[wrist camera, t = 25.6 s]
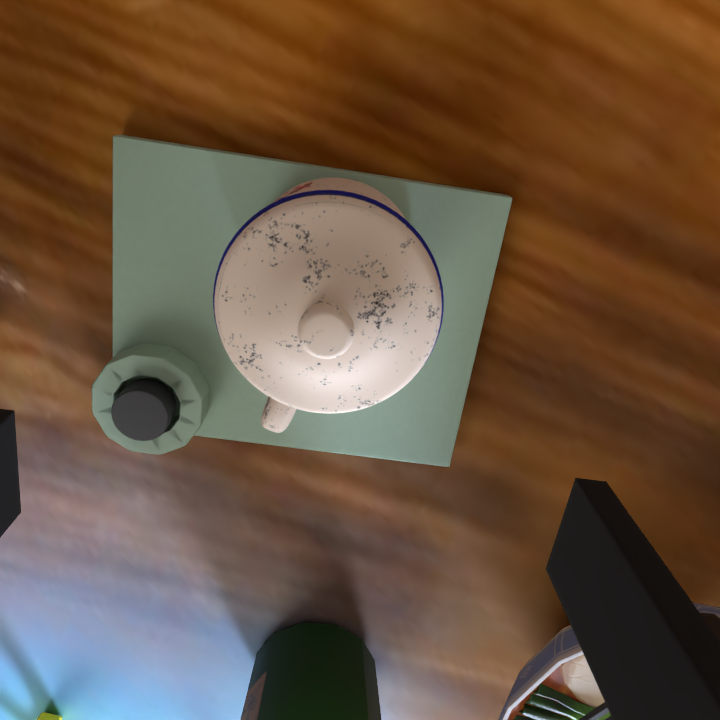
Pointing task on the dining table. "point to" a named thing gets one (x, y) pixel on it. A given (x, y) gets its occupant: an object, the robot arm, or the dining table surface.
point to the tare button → (143, 409)
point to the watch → (48, 716)
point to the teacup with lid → (327, 300)
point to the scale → (196, 314)
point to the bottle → (313, 677)
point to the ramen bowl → (561, 683)
